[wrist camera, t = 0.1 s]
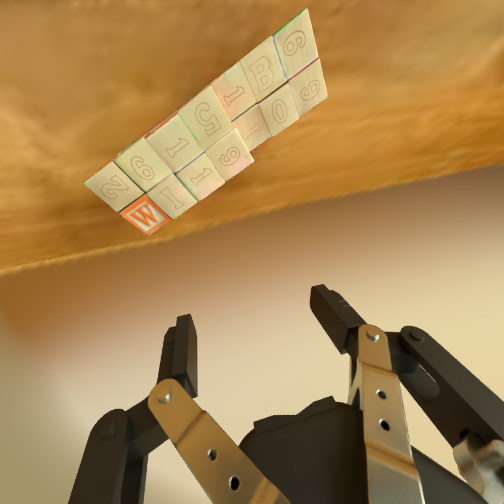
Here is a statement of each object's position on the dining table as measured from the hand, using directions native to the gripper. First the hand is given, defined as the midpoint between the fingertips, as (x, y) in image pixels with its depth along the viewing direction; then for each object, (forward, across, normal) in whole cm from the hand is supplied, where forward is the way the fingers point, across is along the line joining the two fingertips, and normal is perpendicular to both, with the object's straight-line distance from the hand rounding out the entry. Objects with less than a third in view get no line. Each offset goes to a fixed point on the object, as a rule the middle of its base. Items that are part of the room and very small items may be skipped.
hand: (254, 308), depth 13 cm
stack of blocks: (+21, 0, -11) cm, 24 cm away
